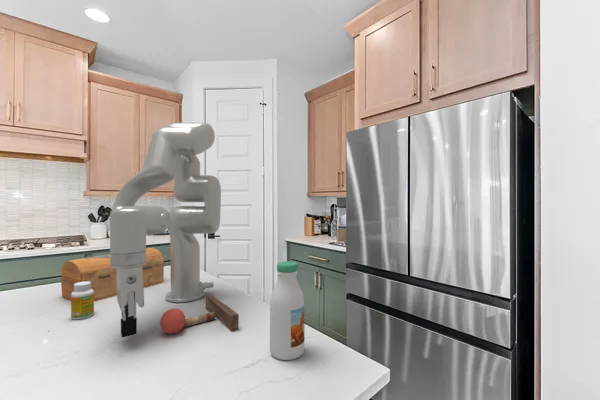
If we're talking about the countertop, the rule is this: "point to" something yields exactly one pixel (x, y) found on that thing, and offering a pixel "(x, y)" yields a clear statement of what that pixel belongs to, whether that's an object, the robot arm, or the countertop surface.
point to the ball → (172, 321)
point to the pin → (199, 319)
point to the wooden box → (107, 274)
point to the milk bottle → (287, 314)
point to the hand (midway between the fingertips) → (128, 334)
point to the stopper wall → (223, 312)
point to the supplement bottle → (82, 301)
